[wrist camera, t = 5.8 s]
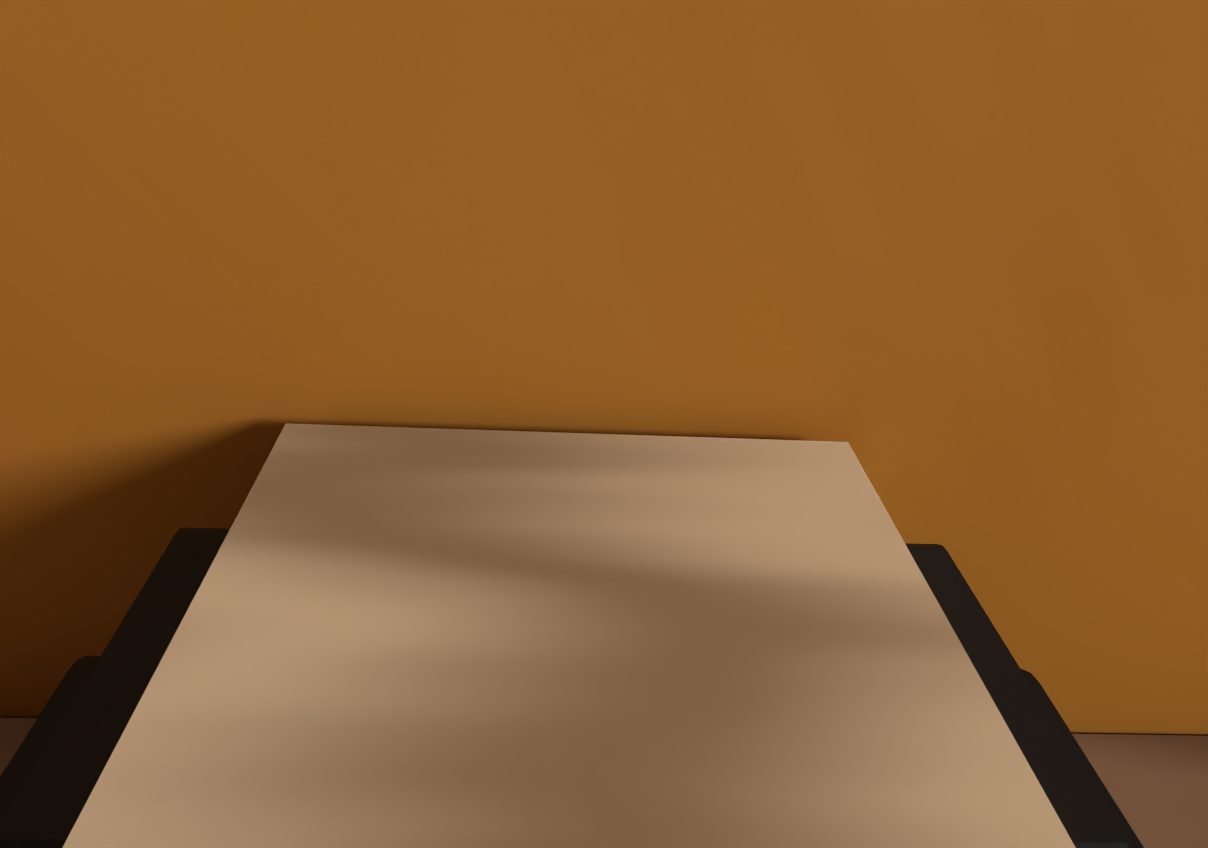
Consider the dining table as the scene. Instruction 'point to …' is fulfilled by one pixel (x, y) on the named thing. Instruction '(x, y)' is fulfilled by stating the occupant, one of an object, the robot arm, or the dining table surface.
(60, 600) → the dining table surface
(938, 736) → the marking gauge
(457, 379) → the dining table surface
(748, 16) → the dining table surface
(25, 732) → the walnut board
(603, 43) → the dining table surface
